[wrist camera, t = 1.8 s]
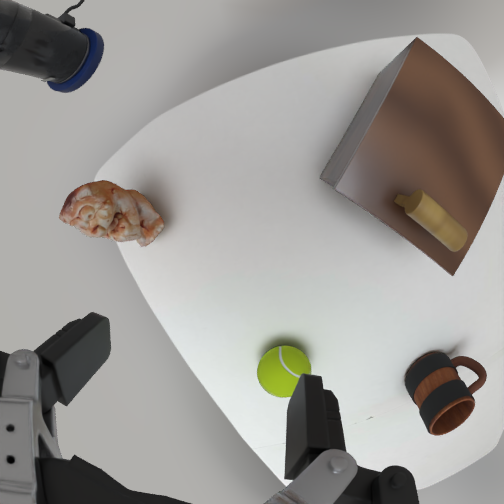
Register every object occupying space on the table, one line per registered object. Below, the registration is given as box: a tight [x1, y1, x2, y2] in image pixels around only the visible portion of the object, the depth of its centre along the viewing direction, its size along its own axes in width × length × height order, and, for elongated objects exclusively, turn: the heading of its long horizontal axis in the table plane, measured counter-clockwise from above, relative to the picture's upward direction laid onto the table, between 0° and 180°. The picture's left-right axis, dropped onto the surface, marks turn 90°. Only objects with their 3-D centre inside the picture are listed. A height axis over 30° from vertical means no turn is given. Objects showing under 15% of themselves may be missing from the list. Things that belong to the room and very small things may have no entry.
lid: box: [333, 37, 504, 276], centre depth 16 cm, size 17×14×5 cm
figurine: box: [59, 180, 164, 247], centre depth 27 cm, size 6×8×15 cm
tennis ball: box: [257, 346, 311, 397], centre depth 34 cm, size 7×7×7 cm
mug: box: [405, 352, 487, 435], centre depth 30 cm, size 9×12×12 cm
